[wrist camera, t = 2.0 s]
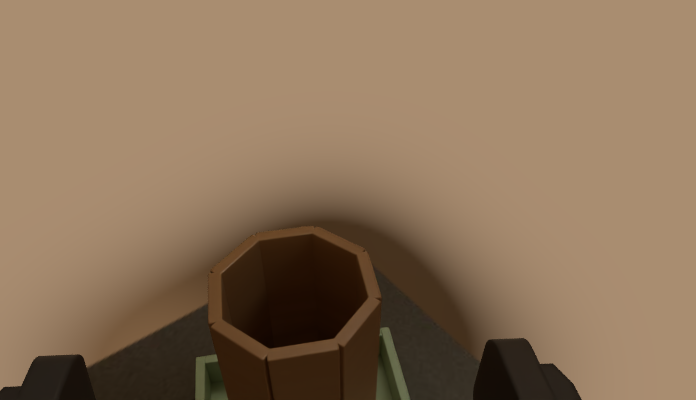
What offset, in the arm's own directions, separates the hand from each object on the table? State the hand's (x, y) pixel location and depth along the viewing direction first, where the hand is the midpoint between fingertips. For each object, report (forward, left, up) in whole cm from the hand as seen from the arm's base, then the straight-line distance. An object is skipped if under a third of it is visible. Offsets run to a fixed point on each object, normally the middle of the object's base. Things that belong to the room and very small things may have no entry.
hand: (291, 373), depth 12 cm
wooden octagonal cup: (+5, -6, -19) cm, 20 cm away
